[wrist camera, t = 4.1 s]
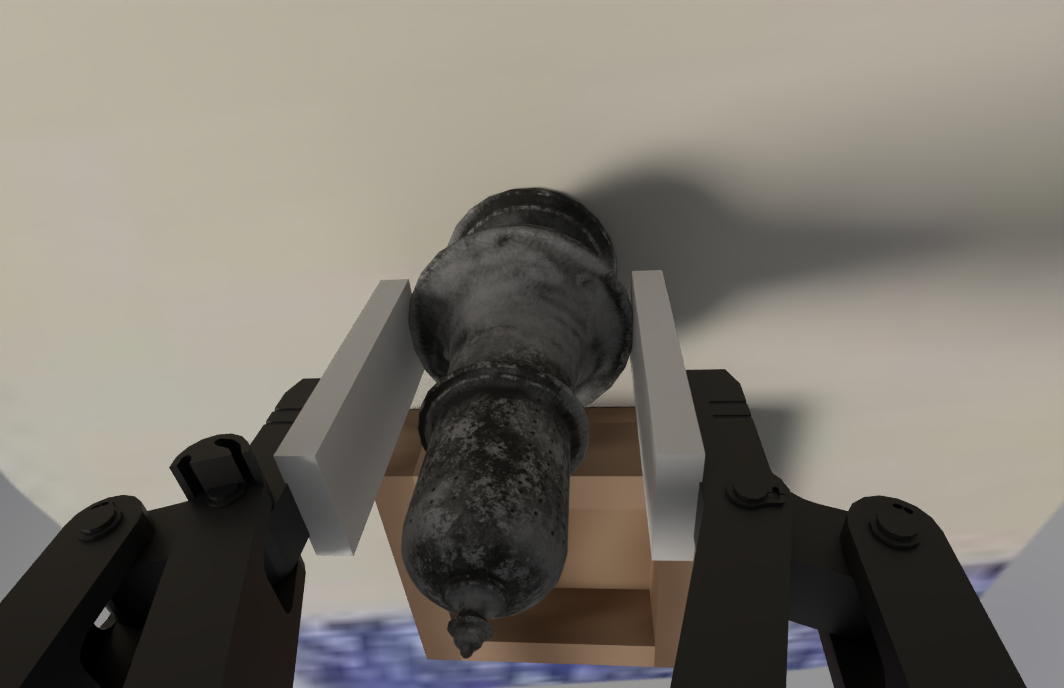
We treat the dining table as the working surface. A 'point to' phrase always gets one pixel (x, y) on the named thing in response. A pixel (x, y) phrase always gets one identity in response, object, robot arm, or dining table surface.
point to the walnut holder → (568, 564)
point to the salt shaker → (508, 400)
